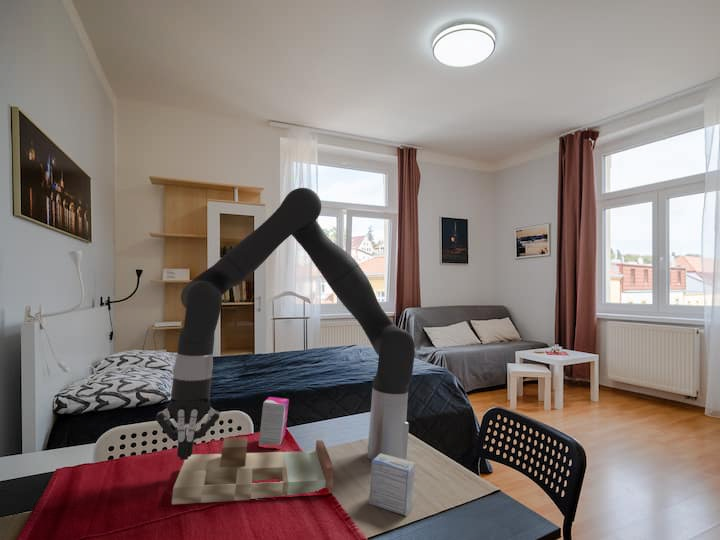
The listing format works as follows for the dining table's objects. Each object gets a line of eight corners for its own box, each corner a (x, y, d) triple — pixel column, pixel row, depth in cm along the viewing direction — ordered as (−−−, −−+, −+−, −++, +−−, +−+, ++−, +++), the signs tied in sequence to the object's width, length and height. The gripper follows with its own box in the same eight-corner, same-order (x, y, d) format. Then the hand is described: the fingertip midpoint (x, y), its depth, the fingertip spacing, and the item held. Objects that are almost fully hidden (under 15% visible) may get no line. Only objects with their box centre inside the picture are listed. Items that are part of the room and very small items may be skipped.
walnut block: (245, 455, 86) (247, 437, 86) (245, 466, 81) (246, 446, 81) (222, 456, 84) (224, 438, 85) (220, 467, 80) (222, 447, 80)
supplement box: (280, 450, 97) (284, 404, 98) (257, 448, 97) (261, 402, 98) (285, 441, 103) (289, 398, 104) (263, 439, 103) (267, 396, 104)
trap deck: (320, 463, 91) (322, 440, 92) (331, 495, 78) (334, 467, 78) (185, 468, 84) (188, 443, 84) (171, 504, 70) (174, 473, 70)
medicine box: (413, 506, 76) (416, 462, 77) (406, 517, 72) (409, 470, 73) (376, 494, 80) (379, 452, 80) (368, 504, 75) (371, 459, 76)
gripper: (227, 371, 86) (219, 449, 85) (163, 370, 83) (154, 451, 82) (224, 379, 79) (215, 465, 78) (154, 378, 76) (144, 467, 75)
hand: (184, 458), depth 80 cm, fingers closed
